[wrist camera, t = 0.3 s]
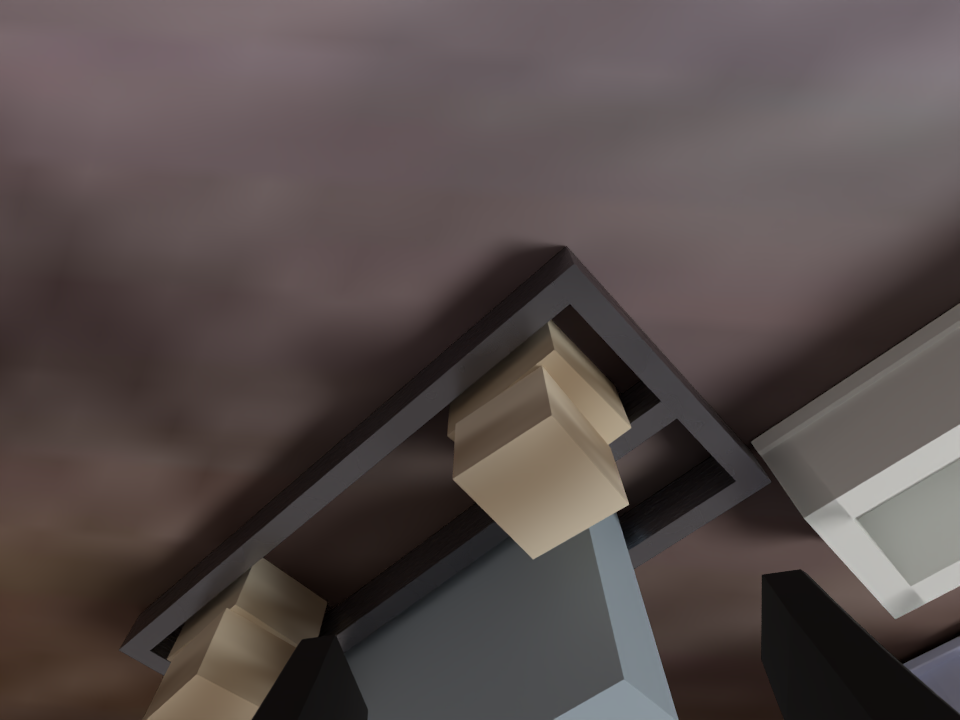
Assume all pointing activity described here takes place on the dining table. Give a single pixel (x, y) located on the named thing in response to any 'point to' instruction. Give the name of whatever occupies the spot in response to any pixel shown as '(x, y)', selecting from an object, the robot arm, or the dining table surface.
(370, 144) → the dining table surface
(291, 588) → the birch offcut
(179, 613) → the rack
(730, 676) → the dining table surface
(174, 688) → the birch offcut
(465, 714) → the chamfered blue-grey beam
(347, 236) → the dining table surface
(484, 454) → the birch offcut stack
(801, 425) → the holder
